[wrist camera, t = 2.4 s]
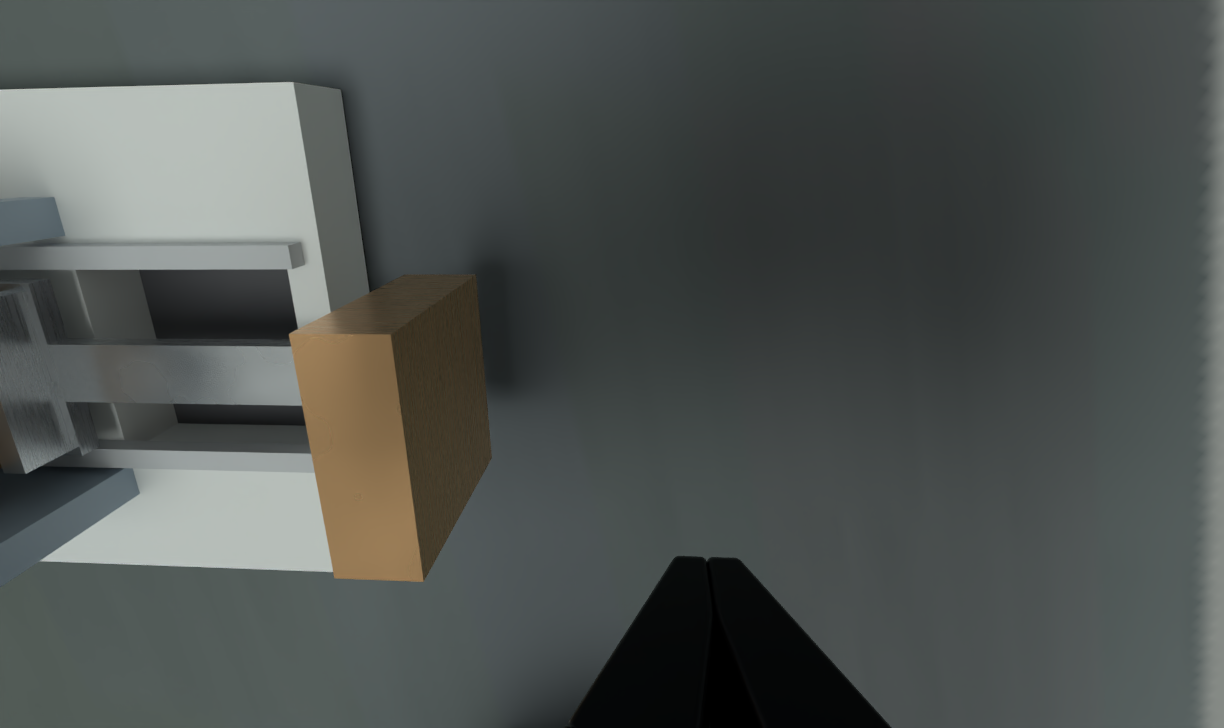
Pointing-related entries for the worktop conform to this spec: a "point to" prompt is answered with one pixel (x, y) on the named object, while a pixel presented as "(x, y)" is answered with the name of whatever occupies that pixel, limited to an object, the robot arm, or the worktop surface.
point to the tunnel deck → (178, 308)
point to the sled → (289, 375)
